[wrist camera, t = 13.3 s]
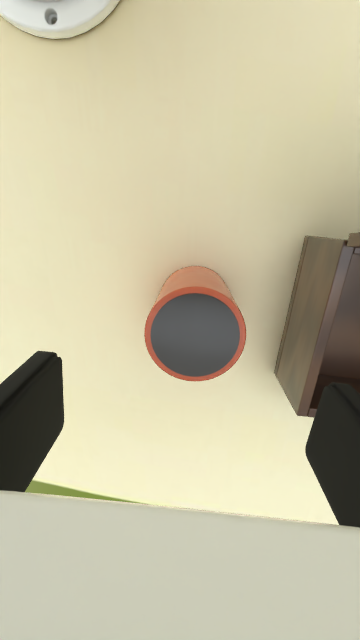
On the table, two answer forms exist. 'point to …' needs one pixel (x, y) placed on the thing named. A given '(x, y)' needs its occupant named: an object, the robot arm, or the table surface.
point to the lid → (354, 240)
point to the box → (321, 324)
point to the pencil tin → (195, 326)
